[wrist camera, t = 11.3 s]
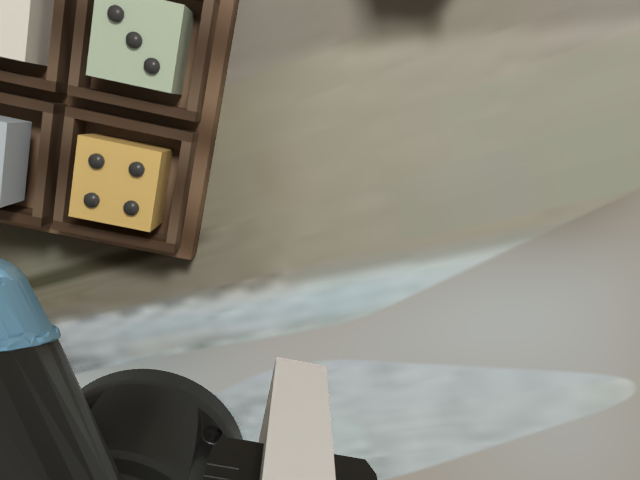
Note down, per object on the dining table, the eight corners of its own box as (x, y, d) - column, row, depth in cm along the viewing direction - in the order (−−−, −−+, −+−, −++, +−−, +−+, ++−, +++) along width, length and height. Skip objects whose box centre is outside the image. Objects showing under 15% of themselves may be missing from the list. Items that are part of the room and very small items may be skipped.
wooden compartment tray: (196, 253, 41) (184, 268, 37) (-60, 202, 39) (-100, 212, 35) (240, -9, 37) (233, -24, 33) (-42, -74, 36) (-85, -97, 32)
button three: (182, 95, 36) (170, 93, 33) (103, 77, 36) (84, 74, 33) (194, 13, 35) (183, 4, 32) (113, -5, 35) (95, -16, 32)
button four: (161, 222, 38) (149, 233, 35) (86, 207, 37) (66, 216, 34) (173, 149, 37) (161, 152, 34) (95, 133, 36) (76, 135, 33)
